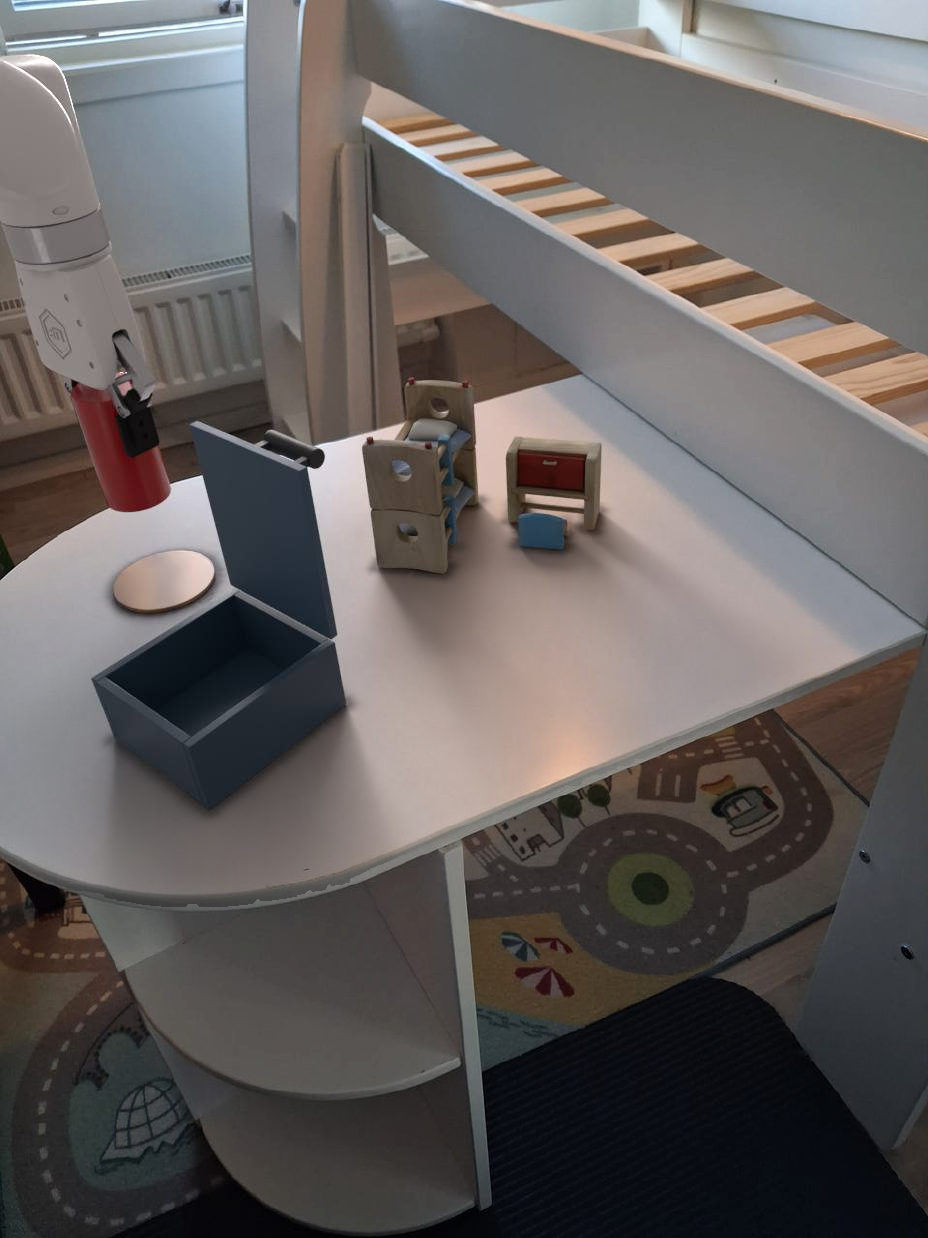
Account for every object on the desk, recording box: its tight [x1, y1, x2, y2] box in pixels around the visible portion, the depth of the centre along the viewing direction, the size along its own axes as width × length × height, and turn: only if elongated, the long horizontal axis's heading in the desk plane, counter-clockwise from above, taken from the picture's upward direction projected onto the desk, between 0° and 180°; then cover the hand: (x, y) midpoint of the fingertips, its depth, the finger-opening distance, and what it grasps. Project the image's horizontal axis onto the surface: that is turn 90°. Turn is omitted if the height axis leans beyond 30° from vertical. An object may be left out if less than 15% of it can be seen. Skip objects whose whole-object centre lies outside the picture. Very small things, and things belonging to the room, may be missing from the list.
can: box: [69, 371, 172, 513], centre depth 89 cm, size 6×6×11 cm
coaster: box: [112, 550, 216, 614], centre depth 99 cm, size 10×10×1 cm
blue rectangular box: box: [90, 587, 347, 811], centre depth 81 cm, size 15×13×7 cm
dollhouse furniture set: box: [361, 377, 603, 575], centre depth 97 cm, size 14×20×14 cm
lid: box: [189, 420, 338, 641], centre depth 79 cm, size 15×13×5 cm
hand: (121, 438), depth 89 cm, fingers closed on can, 6 cm apart
